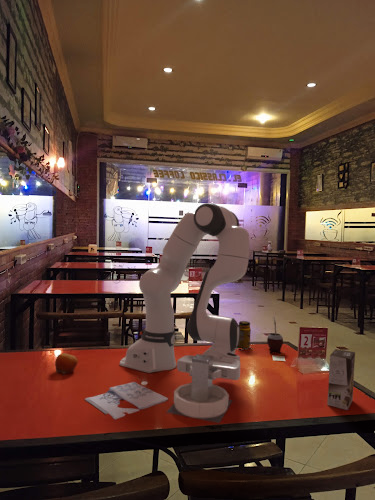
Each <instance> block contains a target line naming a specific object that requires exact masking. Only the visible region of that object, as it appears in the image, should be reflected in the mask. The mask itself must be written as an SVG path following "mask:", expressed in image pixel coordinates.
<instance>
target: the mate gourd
mask: <svg viewBox="0 0 375 500" xmlns="http://www.w3.org/2000/svg"><path fill="white" fill-rule="evenodd" d="M272 319H273V324H274V333H273V332H271V333H269V334H268V336H267V338H266V342H267V346H268V348H269V349H268V351H269V350H270V351H269V353H270V354H274V353H275V352H276V354H279V355H280V354H281V350H282V347H283V344H284V338H283V336H282V334H280V333H277V322H276V317H275V316H273V318H272ZM273 352H274V353H273Z"/></svg>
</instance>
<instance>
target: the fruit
mask: <svg viewBox="0 0 375 500" xmlns="http://www.w3.org/2000/svg"><path fill="white" fill-rule="evenodd" d="M78 363H79V360H78V358H77V356H75V355H72V354H70V353H65V352H64V353H61V354H58V355H57V356H56V359H55V361H54V366H55V370H56V371H55V372H56V373H55V374H57V373H62V374H63V375H65V374H68V373H69V374H70V373H72V372H74V370H75V368H76V367H77V365H78Z"/></svg>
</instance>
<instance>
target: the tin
mask: <svg viewBox="0 0 375 500" xmlns="http://www.w3.org/2000/svg"><path fill="white" fill-rule="evenodd" d="M194 356H195V357H194V358H192V376H191V383H192V391H191V399H193V400H198V401H204V402H208V401H209V399H210V398H211V396H212V384H213V381H214V380H212V379H210V373H211V372H213V359H214V356H209V355H202V354H199V353H196V355H194Z"/></svg>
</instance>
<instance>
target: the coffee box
mask: <svg viewBox="0 0 375 500" xmlns="http://www.w3.org/2000/svg"><path fill="white" fill-rule="evenodd" d="M355 357H356V352H355V351H350V350H345V349H344V350H343V349H338V348H336V349H334V350H333V351H332V353H331V354H330V356H329V367H328V368H329V369H328V386H327V387H328V388H327V389H328V390H327V404H326V405H328V406H330V407H334V408H338V409H341V410H345V411H348V410H349V408H350V407H351V404H352V402H353V399H354V384H355V383H354V382H355V381H354V379H355V363H356V362H355V361H356V360H355V359H356V358H355Z"/></svg>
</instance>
